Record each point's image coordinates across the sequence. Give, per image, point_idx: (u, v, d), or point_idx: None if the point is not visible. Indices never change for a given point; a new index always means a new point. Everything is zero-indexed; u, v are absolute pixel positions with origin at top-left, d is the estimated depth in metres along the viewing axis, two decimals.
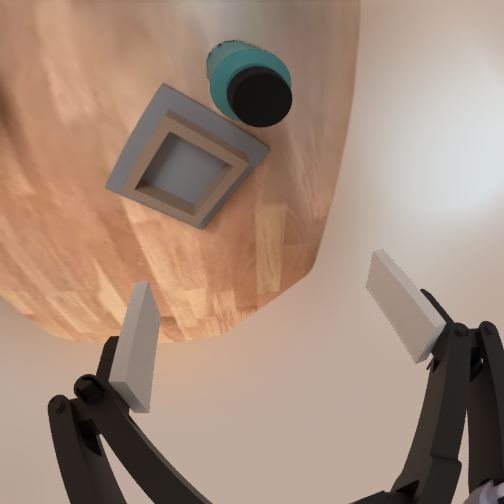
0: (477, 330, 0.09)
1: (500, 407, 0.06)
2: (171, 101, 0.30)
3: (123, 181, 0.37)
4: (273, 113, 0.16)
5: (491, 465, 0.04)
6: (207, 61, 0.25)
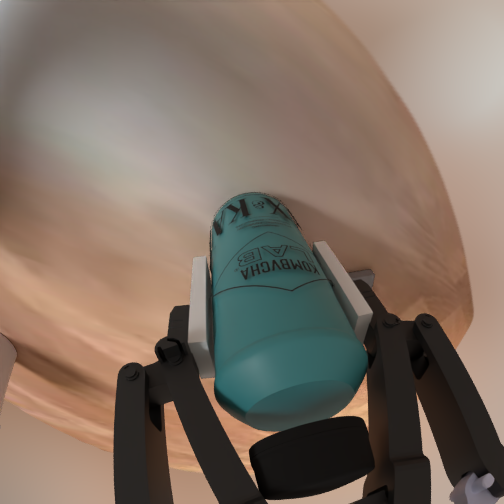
0: (413, 326, 0.11)
1: (461, 403, 0.07)
2: None
3: None
4: None
5: (467, 460, 0.05)
6: None
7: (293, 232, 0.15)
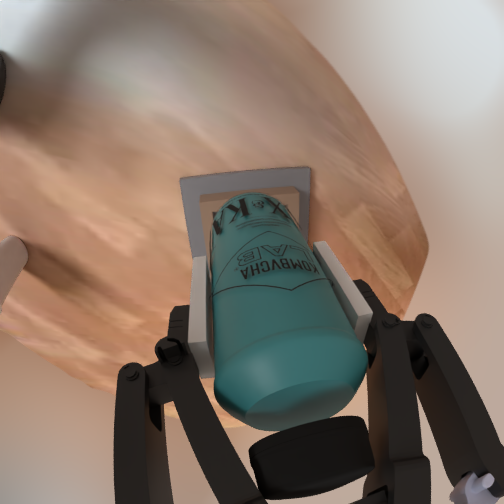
0: (413, 326, 0.11)
1: (461, 403, 0.07)
2: (197, 187, 0.36)
3: (210, 273, 0.44)
4: None
5: (467, 460, 0.05)
6: None
7: (293, 232, 0.15)
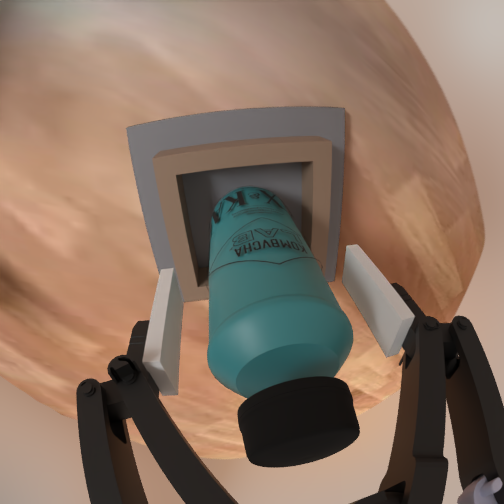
0: (450, 326, 0.10)
1: (483, 404, 0.06)
2: (155, 138, 0.20)
3: None
4: (334, 450, 0.07)
5: (481, 461, 0.05)
6: None
7: (285, 219, 0.17)
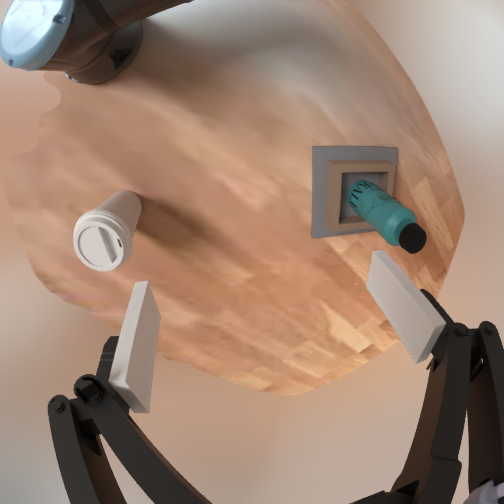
0: (477, 330, 0.09)
1: (500, 407, 0.06)
2: (326, 154, 0.46)
3: (324, 226, 0.53)
4: (422, 243, 0.33)
5: (491, 465, 0.04)
6: (351, 206, 0.48)
7: (386, 193, 0.43)
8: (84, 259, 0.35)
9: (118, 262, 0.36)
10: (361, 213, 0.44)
